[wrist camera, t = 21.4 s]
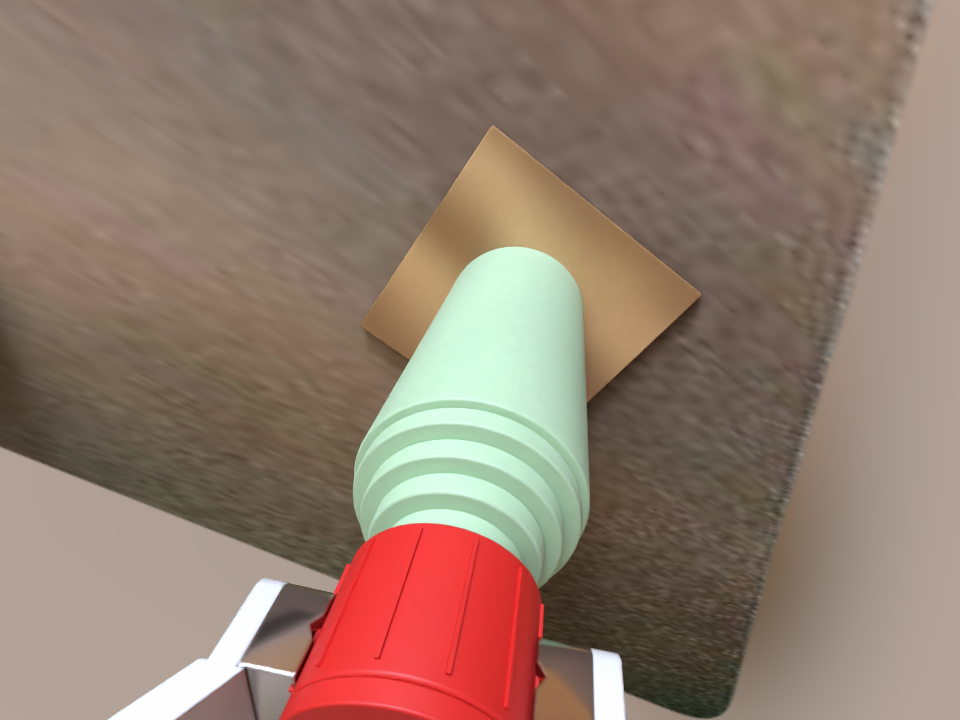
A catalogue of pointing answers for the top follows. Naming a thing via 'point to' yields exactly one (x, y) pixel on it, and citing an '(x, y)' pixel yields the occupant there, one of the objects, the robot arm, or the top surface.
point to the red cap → (425, 633)
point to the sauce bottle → (490, 416)
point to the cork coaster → (541, 226)
